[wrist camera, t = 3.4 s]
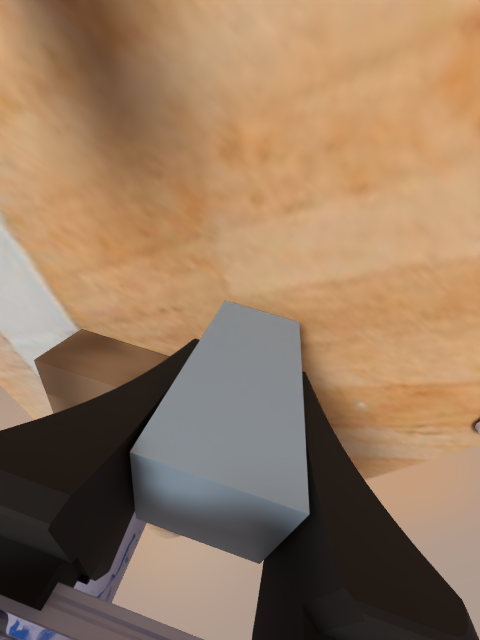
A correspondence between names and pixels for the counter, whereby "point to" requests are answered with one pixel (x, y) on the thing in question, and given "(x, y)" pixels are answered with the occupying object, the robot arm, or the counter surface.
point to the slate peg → (229, 439)
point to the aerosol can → (86, 587)
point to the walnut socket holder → (90, 367)
